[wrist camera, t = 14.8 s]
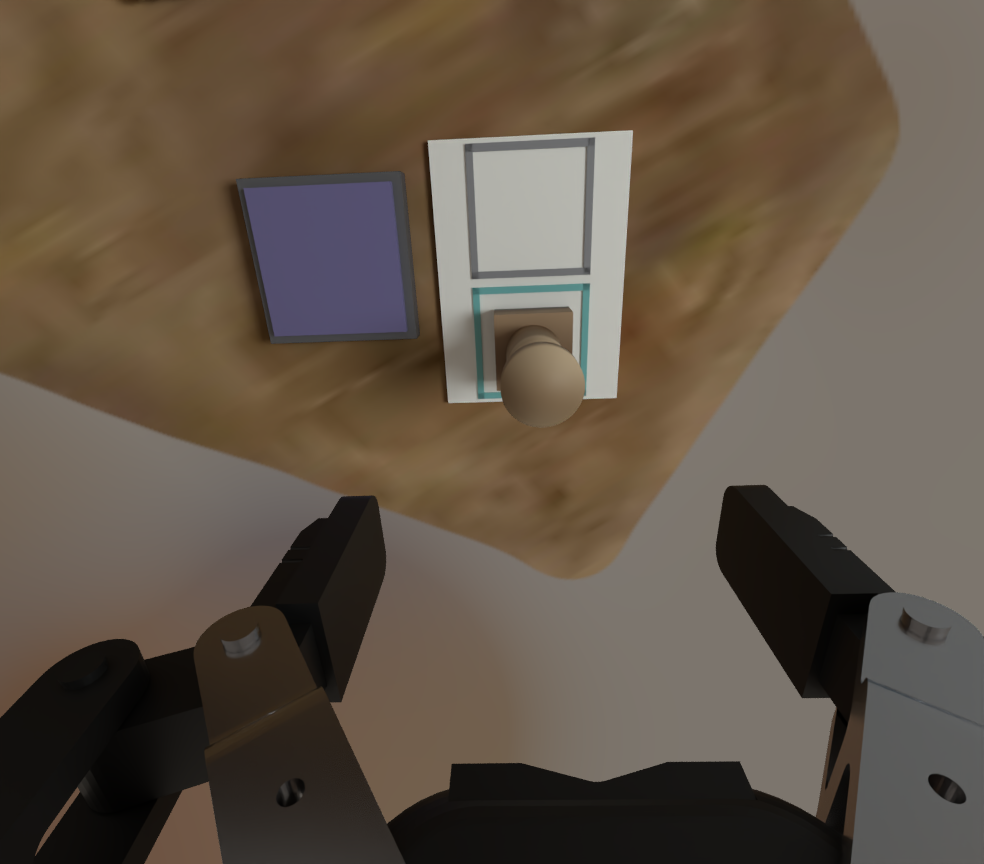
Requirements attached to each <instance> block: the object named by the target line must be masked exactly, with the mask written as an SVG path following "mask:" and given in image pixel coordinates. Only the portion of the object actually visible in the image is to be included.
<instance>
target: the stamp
mask: <svg viewBox="0 0 984 864" xmlns="http://www.w3.org/2000/svg"><path fill="white" fill-rule="evenodd" d="M494 336H495V360H496V385H497V391H501V397H502V401H503V403H504V405H505V407H506V409H507V410H508V412H509V413H510V414H511V415H512V416H513V417H514V418H515V419H517V420H518V421H520V422H521V423H524V424H526V425H529V426H533V427H550V426H554V425H557V424H560V423H562V422H564V421H565V420H567V419H568V418H569V417H571V416H572V415H573V414H574V413H575V412H576V410H577V409H578V407H579V406H580V404H581V402H582V400H583V397H584V393H585V379H584V375H583V372H582V369H581V367H580V365H579V364H578V362H577V360H576V359H575V357H574V356H573V355H572V349H573V311H572V310H571V309H570V308H569V306H567V307H542V308H517V309H494Z"/></svg>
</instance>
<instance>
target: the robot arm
mask: <svg viewBox="0 0 984 864" xmlns="http://www.w3.org/2000/svg"><path fill="white" fill-rule="evenodd" d="M716 556H717V561H718V565H719V567H720V570H721V572H722V573H723V575H724V577H725V578H726V580H727V581H728V583H729V584H730V586H731V588H732V589H733V591H734V592H735V594H736V595H737V597H738V599H739V600H740V601H741V603H742V605H743V606H744V608H745V609H746V611H747V613H748V614H749V616H750V617H751V619H752V620H753V622H754V624H755V625H756V627H757V628H758V630H759V631H760V633H761V635H762V636H763V638H764V639H765V641H766V642H767V644H768V645H769V647H770V649H771V650H772V652H773V653H774V655H775V656H776V658H777V660H778V661H779V663H780V664H781V666H782V667H783V669H784V671H785V672H786V674H787V675H788V677H789V678H790V680H791V682H792V683H793V685H794V686H795V688H796V689H797V691H798V693H799V694H800V696H801V697H802V698H831V700H832V701H833V703H834V704H835V706H836V710H835V712H834V715H833V719H832V723H831V729H830V735H829V741H828V748H827V754H826V761H825V766H824V772H823V778H822V785H821V791H820V797H819V803H818V808H817V813H816V817H814V816H813V815H811V814H809V813H807V812H806V811H804V810H802V809H801V808H799V807H797V806H794V805H793V804H790V803H788V802H786V801H784V800H782V799H780V798H777V797H775V796H772V795H769V794H766V793H764V792H761V791H758V790H754V789H752V788H751V786H750V784H749V782H748V779H747V777H746V775H745V773H744V770H743V768H742V766H741V764H740V762H666V763H663V764H660V765H657V766H653V767H650V768H647V769H643V770H640V771H636V772H633V773H630V774H627V775H623V776H620V777H617V778H613V779H610V780H607V781H602V782H592V781H587V780H583V779H579V778H576V777H571V776H568V775H564V774H560V773H557V772H553V771H549V770H545V769H541V768H537V767H534V766H530V765H526V764H522V763H495V764H494V763H487V764H452V768H451V778H450V788H449V790H445V791H442V792H439V793H436V794H434V795H432V796H429V797H427V798H425V799H423V800H421V801H419V802H417V803H416V804H414V805H412V806H411V807H409V808H407V809H406V810H404V811H403V812H402V813H401V814H399V815H398V816H397V817H395V818H394V819H393V820H391V821H390V822H389V823H388V824H387V823H386V821H385V819H384V817H383V815H382V812H381V810H380V808H379V806H378V804H377V802H376V800H375V797H374V795H373V793H372V791H371V789H370V787H369V785H368V782H367V780H366V778H365V776H364V774H363V772H362V770H361V768H360V765H359V763H358V761H357V759H356V757H355V755H354V753H353V750H352V749H351V746H350V744H349V742H348V740H347V738H346V735H345V733H344V731H343V729H342V727H341V725H340V723H339V720H338V718H337V716H336V714H335V712H334V710H333V708H332V706H331V703H330V702H341V701H342V698H343V695H344V692H345V689H346V686H347V684H348V681H349V678H350V675H351V672H352V669H353V666H354V663H355V661H356V658H357V655H358V652H359V649H360V646H361V643H362V640H363V637H364V634H365V632H366V628H367V625H368V623H369V620H370V617H371V614H372V611H373V608H374V605H375V603H376V600H377V597H378V594H379V591H380V588H381V585H382V582H383V579H384V575H385V569H386V551H385V544H384V538H383V532H382V526H381V519H380V513H379V506H378V502H377V499H376V497H375V496H346V497H341V498H340V499H339V501H338V503H337V504H336V506H335V507H334V509H333V511H332V513H331V514H330V516H329V517H328V518H321V519H320V518H319V519H317V520H316V521H314V522H313V523H312V524H311V525H309V526H308V527H306V528H305V529H304V530H302V531H301V532H300V534H299V535H298V537H297V538H296V540H295V541H294V543H293V544H292V546H291V549H290V550H288V551H287V553H286V554H285V556H284V557H283V559H282V563H279V565H278V566H277V568H276V569H275V571H274V572H273V574H272V575H271V577H270V578H269V580H268V581H267V583H266V584H265V586H264V587H263V589H262V590H261V592H260V593H259V595H258V596H257V598H256V599H255V600H254V602H253V603H252V605H251V606H250V607H247V608H244V609H240V610H237V611H235V612H232V613H230V614H228V615H226V616H224V617H223V618H221V619H219V620H218V621H216V622H215V623H214V624H212V625H211V626H210V627H209V628H208V629H207V630H206V631H205V632H204V633H203V634H202V635H201V636H200V638H199V639H198V641H197V643H196V645H195V647H192V648H189V649H185V650H181V651H177V652H173V653H170V654H165V655H162V656H158V657H154V658H150V659H146V660H144V659H143V656H142V654H141V652H140V650H139V648H138V646H137V644H136V643H134V642H133V641H130V640H126V639H113V640H107V641H102V642H98V643H95V644H92V645H90V646H87V647H85V648H82V649H80V650H78V651H76V652H74V653H72V654H70V655H69V656H67V657H65V658H64V659H62V660H61V661H59V662H58V663H56V664H55V665H53V666H52V667H51V668H50V669H48V670H47V671H46V672H45V673H44V674H43V675H42V676H41V677H40V678H39V679H38V680H37V681H36V682H35V683H34V684H33V685H32V686H31V687H30V688H29V689H28V690H27V691H26V692H25V693H24V694H23V695H22V696H21V697H20V698H19V699H18V700H17V701H16V702H15V703H14V704H13V705H12V706H11V708H9V710H8V711H7V712H6V713H5V714H4V715H3V716H2V717H1V718H0V864H144V863H145V861H146V859H147V857H148V855H149V854H150V852H151V850H152V848H153V846H154V844H155V842H156V840H157V838H158V836H159V834H160V832H161V830H162V828H163V826H164V825H165V823H166V821H167V819H168V817H169V815H170V813H171V811H172V809H173V807H174V805H175V803H176V801H177V799H178V798H179V795H180V794H181V792H182V790H184V789H187V788H190V787H193V786H197V785H200V784H203V783H206V782H209V786H210V791H211V797H212V803H213V809H214V815H215V821H216V827H217V832H218V839H219V844H220V850H221V856H222V862H223V864H984V637H983V636H982V634H981V633H980V631H979V630H978V629H977V628H976V627H975V626H974V625H973V624H972V623H971V622H969V621H968V620H967V619H966V618H964V617H963V616H961V615H960V614H958V613H956V612H955V611H953V610H952V609H950V608H948V607H946V606H944V605H942V604H939V603H937V602H935V601H932V600H929V599H926V598H923V597H920V596H916V595H911V594H906V593H898V592H895V591H894V590H893V589H892V588H891V587H890V586H889V585H887V584H886V583H885V582H884V581H883V580H882V579H881V578H880V577H879V576H878V575H877V574H876V573H874V572H873V571H872V570H871V569H870V568H869V567H868V566H867V565H866V564H865V563H864V562H863V561H861V560H860V559H859V558H858V557H857V556H856V555H855V554H854V553H853V552H852V551H851V550H847V547H846V546H845V545H844V544H843V543H842V542H841V541H840V540H838V538H836V537H833V534H832V533H831V532H830V531H829V530H828V529H827V528H826V527H824V526H823V525H822V524H821V523H820V522H819V521H818V520H817V519H816V518H814V517H812V516H810V515H808V514H806V513H805V512H803V511H800V510H799V509H797V508H795V507H793V506H787V505H786V504H785V503H784V502H783V501H782V500H781V499H780V498H779V497H778V496H777V495H776V494H775V493H774V492H773V491H772V490H771V489H770V488H769V487H768V486H766V485H744V486H729V487H728V488H727V489H726V491H725V493H724V497H723V503H722V510H721V515H720V522H719V528H718V534H717V541H716ZM77 787H78V788H79V790H80V793H79V794H78V796H77V797H76V799H75V800H74V802H73V803H72V804H71V806H70V807H69V809H68V810H67V812H66V813H65V814H64V816H63V817H62V819H61V820H60V822H59V823H58V824H57V826H56V827H55V829H54V830H53V832H52V833H51V834H50V836H49V837H48V839H47V840H46V842H45V843H44V844H43V846H42V847H41V849H40V850H39V852H38V853H37V855H36V856H35V854H36V851H37V848H38V846H39V843H40V841H41V839H42V837H43V835H44V834H45V832H46V831H47V829H48V827H49V826H50V825H51V823H52V822H53V820H54V819H55V818H56V816H57V815H58V813H59V812H60V810H61V809H62V808H63V806H64V805H65V804H66V802H67V801H68V799H69V798H70V796H71V795H72V794H73V792H74V791H75V789H76V788H77Z"/></svg>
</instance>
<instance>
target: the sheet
mask: <svg viewBox="0 0 984 864" xmlns="http://www.w3.org/2000/svg"><path fill="white" fill-rule="evenodd" d="M632 137H633V130H630V131H610V132H590V133H570V134H550V135H530V136H510V137H490V138H470V139H450V140H430V141H428V150H429V162H430V175H431V188H432V201H433V214H434V227H435V239H436V252H437V265H438V278H439V291H440V304H441V316H442V329H443V342H444V355H445V368H446V380H447V393H448V403H467V402H500V401H502V397H501V391H497V385H496V360H495V336H494V309H517V308H542V307H567V306H569V308H570V309H571V310H572V311H573V349H572V355H573V356H574V357H575V359H576V360H577V362H578V364H579V365H580V367H581V369H582V372H583V375H584V379H585V393H584V397H583V399H599V398H617V381H618V365H619V349H620V332H621V316H622V300H623V284H624V267H625V251H626V235H627V219H628V202H629V186H630V170H631V153H632Z"/></svg>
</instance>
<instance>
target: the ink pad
mask: <svg viewBox="0 0 984 864" xmlns="http://www.w3.org/2000/svg"><path fill="white" fill-rule="evenodd" d="M236 182H237V187H238V191H239V196H240V201H241V205H242V210H243V215H244V219H245V224H246V229H247V233H248V238H249V243H250V247H251V252H252V257H253V261H254V266H255V271H256V275H257V280H258V285H259V289H260V294H261V299H262V303H263V308H264V313H265V317H266V322H267V327H268V331H269V336H270V341H271V344H274V343H302V342H331V341H359V340H388V339H416V338H417V337H418V336H419V335H420V331H419V321H418V311H417V300H416V290H415V279H414V269H413V259H412V248H411V238H410V227H409V217H408V206H407V196H406V186H405V175H404V173H402V172H401V171H394V172H374V173H353V174H332V175H311V176H290V177H269V178H248V179H236Z"/></svg>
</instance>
